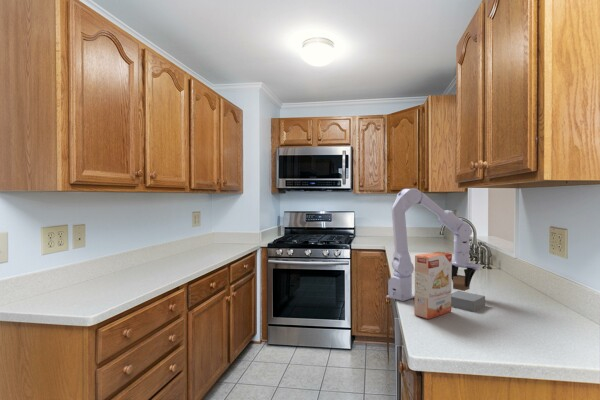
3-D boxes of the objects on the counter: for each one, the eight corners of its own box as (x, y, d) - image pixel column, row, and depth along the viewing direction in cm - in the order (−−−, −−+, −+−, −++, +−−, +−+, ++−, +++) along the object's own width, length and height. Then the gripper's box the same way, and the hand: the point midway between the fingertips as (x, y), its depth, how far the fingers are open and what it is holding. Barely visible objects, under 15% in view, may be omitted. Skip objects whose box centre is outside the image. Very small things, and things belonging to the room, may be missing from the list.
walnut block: (464, 290, 143) (464, 278, 143) (452, 288, 147) (453, 276, 147) (469, 289, 146) (469, 276, 146) (458, 286, 150) (458, 274, 150)
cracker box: (429, 320, 119) (429, 257, 118) (413, 315, 123) (413, 254, 123) (452, 312, 127) (452, 252, 126) (437, 307, 132) (437, 250, 131)
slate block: (473, 312, 127) (473, 301, 127) (446, 306, 134) (446, 295, 134) (485, 306, 134) (485, 296, 134) (458, 300, 141) (458, 290, 141)
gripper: (484, 253, 143) (483, 286, 143) (449, 248, 154) (449, 280, 155) (476, 254, 139) (475, 289, 139) (440, 250, 150) (440, 282, 150)
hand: (461, 285), depth 146 cm, fingers closed on walnut block, 5 cm apart
